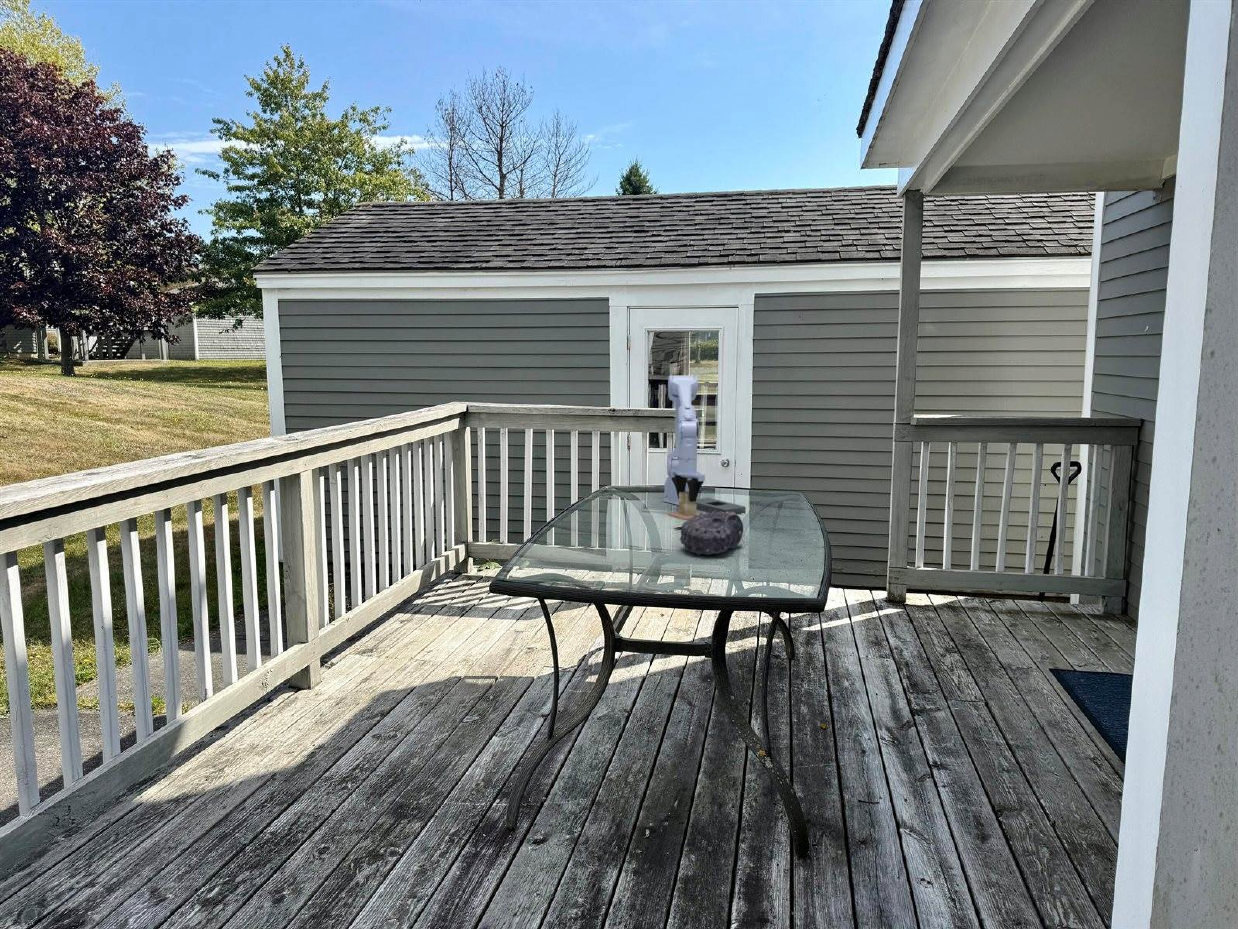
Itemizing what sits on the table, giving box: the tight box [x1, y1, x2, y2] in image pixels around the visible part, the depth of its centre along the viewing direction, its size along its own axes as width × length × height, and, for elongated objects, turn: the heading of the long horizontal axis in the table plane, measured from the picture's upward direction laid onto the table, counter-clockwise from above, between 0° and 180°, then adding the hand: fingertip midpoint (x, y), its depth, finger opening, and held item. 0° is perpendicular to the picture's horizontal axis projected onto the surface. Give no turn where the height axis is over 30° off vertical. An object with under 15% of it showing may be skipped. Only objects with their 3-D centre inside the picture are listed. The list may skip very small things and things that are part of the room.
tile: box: [666, 510, 701, 521], centre depth 275 cm, size 9×9×1 cm
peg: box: [678, 491, 698, 516], centre depth 274 cm, size 4×4×7 cm
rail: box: [696, 497, 747, 515], centre depth 284 cm, size 18×9×2 cm, turn 36°
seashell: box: [678, 511, 744, 556], centre depth 232 cm, size 20×13×15 cm
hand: (687, 500), depth 274 cm, fingers open, 5 cm apart
